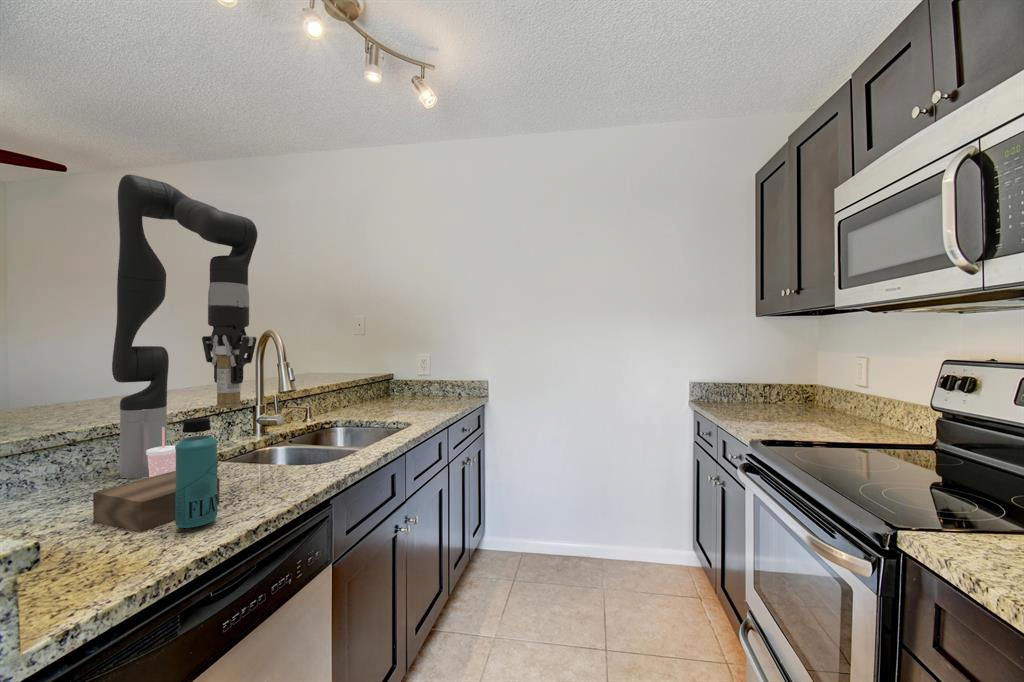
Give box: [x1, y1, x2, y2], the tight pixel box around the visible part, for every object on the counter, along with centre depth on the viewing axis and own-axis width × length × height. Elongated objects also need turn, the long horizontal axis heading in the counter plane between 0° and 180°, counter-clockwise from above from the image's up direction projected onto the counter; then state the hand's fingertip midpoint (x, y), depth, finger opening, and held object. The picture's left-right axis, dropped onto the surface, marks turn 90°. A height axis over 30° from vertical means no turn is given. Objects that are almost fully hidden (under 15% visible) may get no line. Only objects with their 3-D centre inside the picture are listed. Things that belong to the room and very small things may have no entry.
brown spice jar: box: [216, 346, 242, 409], centre depth 93 cm, size 5×5×14 cm
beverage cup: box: [146, 427, 176, 478], centre depth 99 cm, size 6×6×14 cm
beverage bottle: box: [174, 417, 219, 529], centre depth 77 cm, size 6×7×20 cm
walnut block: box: [92, 471, 221, 534], centre depth 84 cm, size 14×14×6 cm
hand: (228, 382), depth 93 cm, fingers closed on brown spice jar, 4 cm apart
